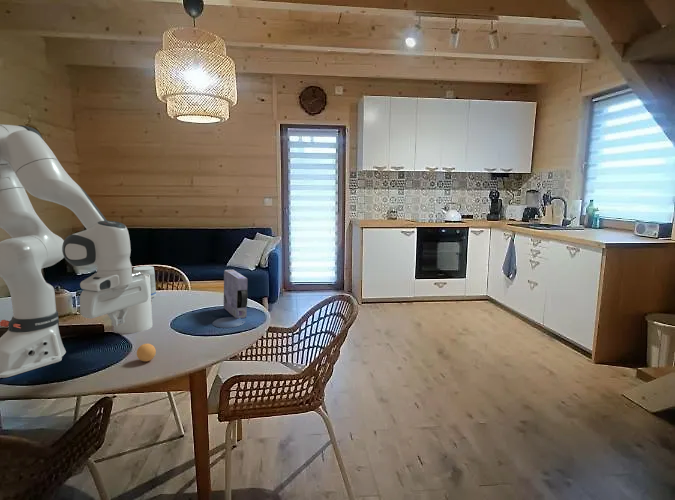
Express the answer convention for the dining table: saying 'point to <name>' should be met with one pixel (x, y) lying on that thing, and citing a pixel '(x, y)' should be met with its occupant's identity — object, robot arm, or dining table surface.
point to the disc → (228, 322)
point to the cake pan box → (235, 293)
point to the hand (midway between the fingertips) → (118, 324)
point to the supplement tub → (151, 272)
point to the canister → (137, 315)
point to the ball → (146, 352)
